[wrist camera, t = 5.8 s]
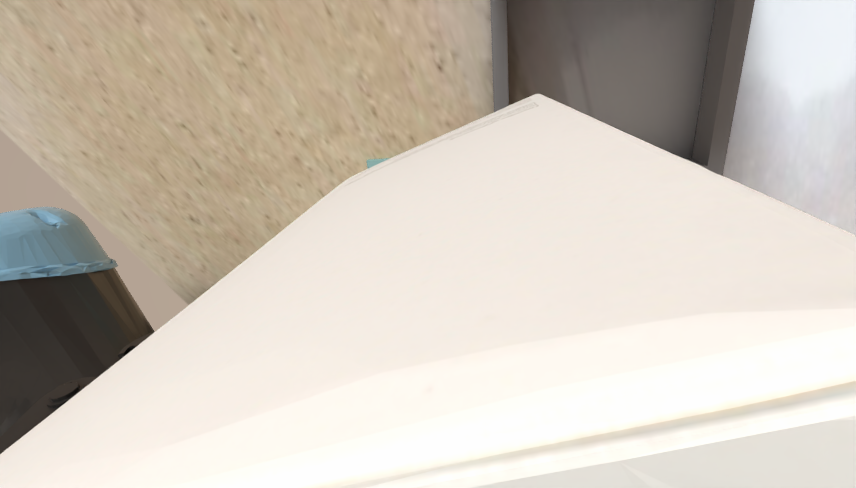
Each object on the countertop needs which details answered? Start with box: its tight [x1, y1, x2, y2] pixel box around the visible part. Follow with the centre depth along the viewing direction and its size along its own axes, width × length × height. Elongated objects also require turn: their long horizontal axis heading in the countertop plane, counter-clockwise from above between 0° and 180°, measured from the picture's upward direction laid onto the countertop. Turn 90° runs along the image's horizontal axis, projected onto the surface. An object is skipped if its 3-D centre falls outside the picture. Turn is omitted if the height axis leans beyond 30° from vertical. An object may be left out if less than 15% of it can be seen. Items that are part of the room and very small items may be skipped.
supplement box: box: [0, 94, 856, 488], centre depth 10 cm, size 9×9×15 cm
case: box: [490, 0, 755, 176], centre depth 21 cm, size 15×16×16 cm
